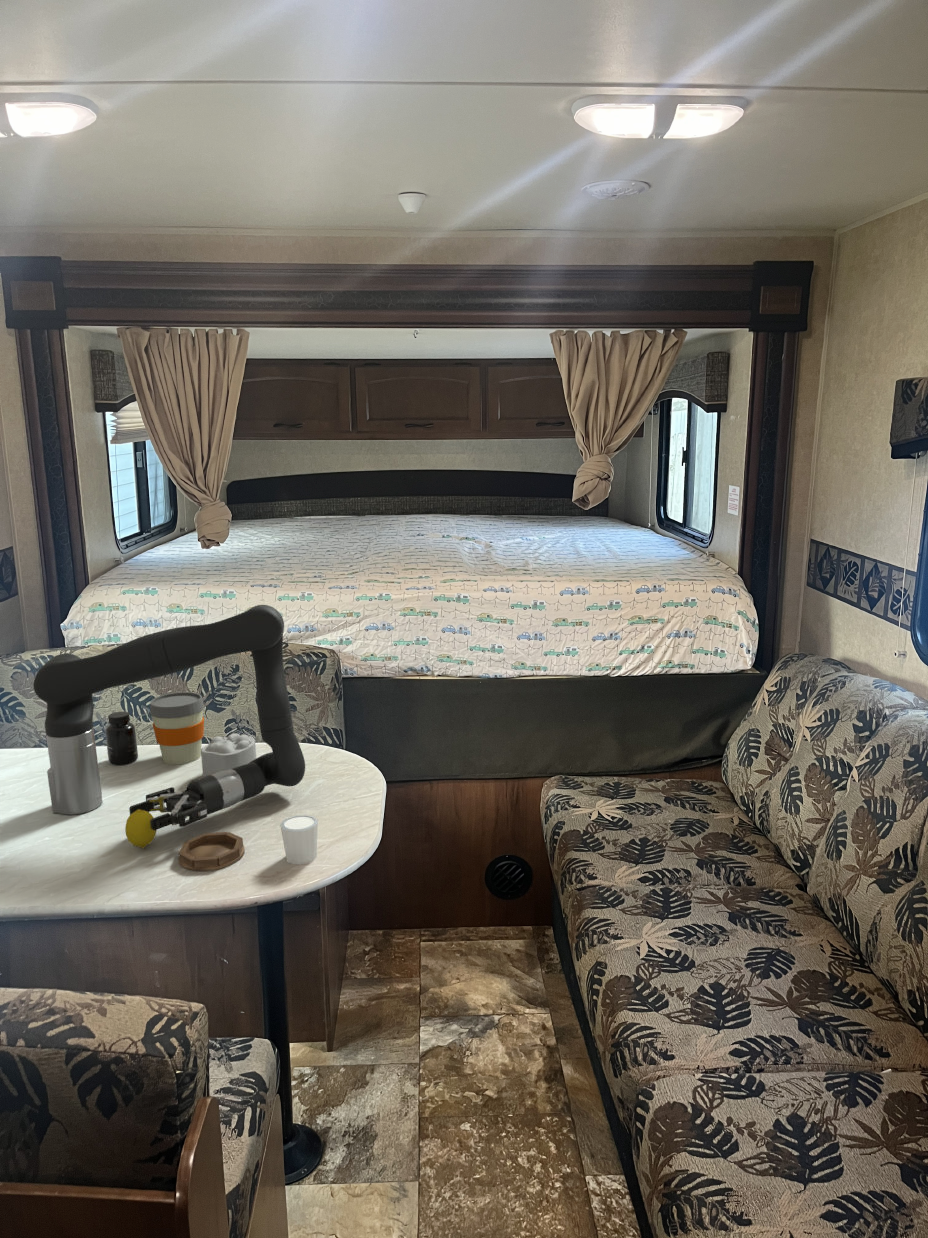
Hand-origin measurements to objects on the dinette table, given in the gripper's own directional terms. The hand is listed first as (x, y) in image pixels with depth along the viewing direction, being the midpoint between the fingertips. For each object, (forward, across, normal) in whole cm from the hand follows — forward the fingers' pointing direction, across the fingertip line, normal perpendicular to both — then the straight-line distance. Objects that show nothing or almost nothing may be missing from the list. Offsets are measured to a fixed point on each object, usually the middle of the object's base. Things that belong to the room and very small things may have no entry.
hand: (140, 818), depth 166 cm
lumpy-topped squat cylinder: (-32, -20, +6) cm, 38 cm away
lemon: (0, 0, +6) cm, 6 cm away
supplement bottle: (-19, -47, +6) cm, 51 cm away
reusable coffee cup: (-29, -38, +6) cm, 48 cm away
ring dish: (-7, +13, +6) cm, 16 cm away
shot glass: (-18, +26, +6) cm, 32 cm away
